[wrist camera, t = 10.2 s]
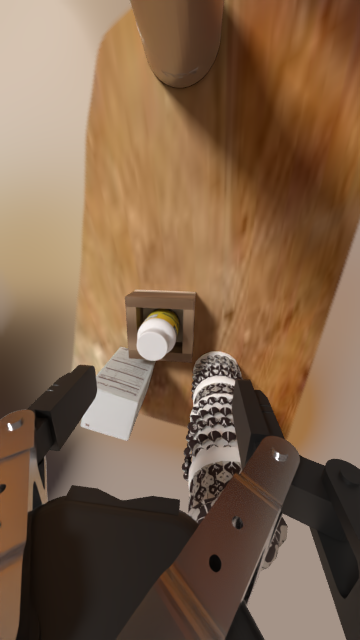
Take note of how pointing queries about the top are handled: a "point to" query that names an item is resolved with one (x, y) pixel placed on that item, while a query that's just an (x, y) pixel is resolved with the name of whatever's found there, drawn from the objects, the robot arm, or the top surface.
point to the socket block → (149, 300)
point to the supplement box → (119, 395)
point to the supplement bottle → (158, 334)
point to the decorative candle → (215, 440)
